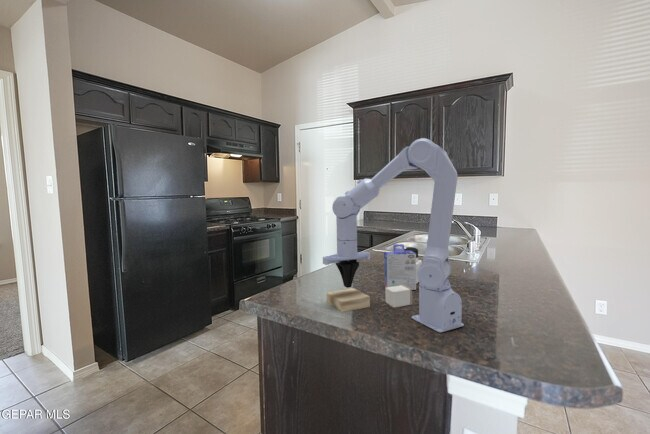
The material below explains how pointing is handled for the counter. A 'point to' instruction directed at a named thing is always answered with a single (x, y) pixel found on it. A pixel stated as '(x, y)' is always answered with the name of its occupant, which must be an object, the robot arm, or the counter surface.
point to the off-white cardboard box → (398, 296)
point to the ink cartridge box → (400, 267)
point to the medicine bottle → (418, 262)
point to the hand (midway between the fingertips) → (347, 286)
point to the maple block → (348, 299)
